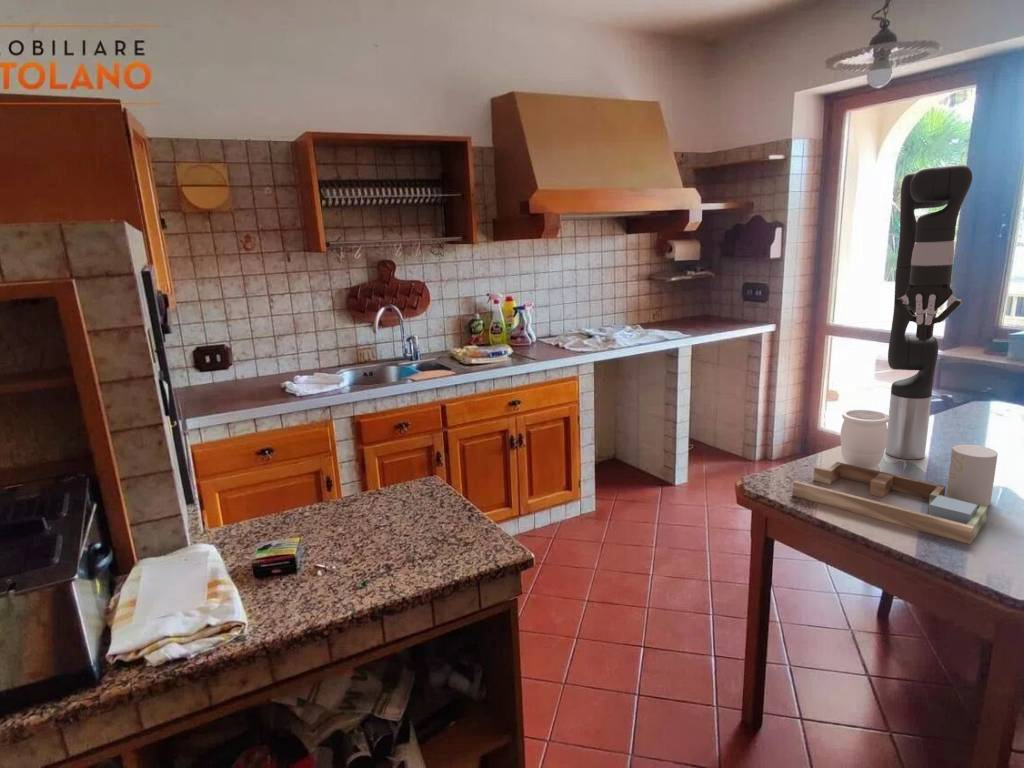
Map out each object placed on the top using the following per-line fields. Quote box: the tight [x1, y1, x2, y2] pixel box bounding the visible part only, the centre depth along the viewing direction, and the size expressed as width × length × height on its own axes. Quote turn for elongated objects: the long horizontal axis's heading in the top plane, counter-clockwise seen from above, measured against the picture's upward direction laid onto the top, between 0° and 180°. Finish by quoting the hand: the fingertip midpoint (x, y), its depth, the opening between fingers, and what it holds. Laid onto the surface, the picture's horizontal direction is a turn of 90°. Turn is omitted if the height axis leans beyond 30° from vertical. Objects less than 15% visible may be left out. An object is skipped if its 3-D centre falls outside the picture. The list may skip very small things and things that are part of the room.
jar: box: [839, 409, 889, 472], centre depth 155 cm, size 11×10×15 cm
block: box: [928, 496, 977, 524], centre depth 125 cm, size 6×7×5 cm
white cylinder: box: [945, 443, 998, 507], centre depth 135 cm, size 8×8×12 cm
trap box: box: [792, 461, 989, 545], centre depth 137 cm, size 19×35×4 cm, turn 41°
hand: (923, 340), depth 133 cm, fingers closed
